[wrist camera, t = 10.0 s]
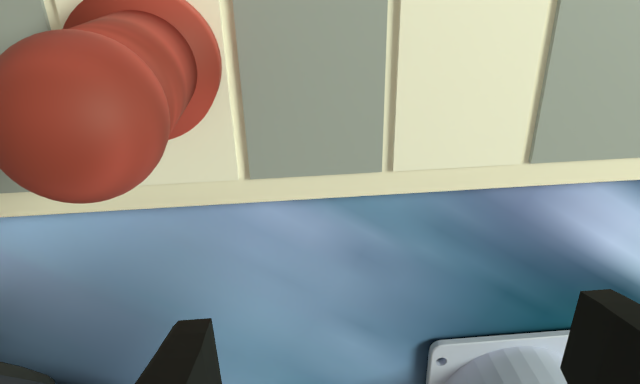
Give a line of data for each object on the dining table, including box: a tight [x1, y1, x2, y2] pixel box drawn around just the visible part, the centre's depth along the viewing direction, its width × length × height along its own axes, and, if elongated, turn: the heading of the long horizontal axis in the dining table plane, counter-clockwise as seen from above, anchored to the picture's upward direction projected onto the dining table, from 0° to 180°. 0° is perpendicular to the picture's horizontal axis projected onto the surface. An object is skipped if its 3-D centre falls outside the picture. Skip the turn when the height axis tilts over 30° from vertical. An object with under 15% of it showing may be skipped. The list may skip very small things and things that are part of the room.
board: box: [0, 0, 640, 217], centre depth 15 cm, size 10×28×1 cm, turn 91°
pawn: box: [0, 0, 222, 204], centre depth 11 cm, size 4×4×7 cm
